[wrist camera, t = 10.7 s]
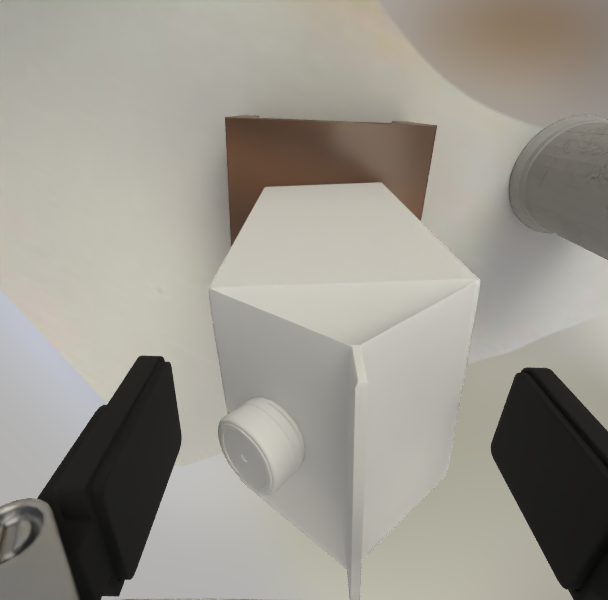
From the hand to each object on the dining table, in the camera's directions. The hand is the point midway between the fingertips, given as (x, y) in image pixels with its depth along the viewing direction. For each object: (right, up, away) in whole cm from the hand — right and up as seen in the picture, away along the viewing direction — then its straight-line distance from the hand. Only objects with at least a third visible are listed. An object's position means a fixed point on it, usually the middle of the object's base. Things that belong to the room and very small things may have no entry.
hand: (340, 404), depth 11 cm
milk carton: (0, +7, +14) cm, 16 cm away
